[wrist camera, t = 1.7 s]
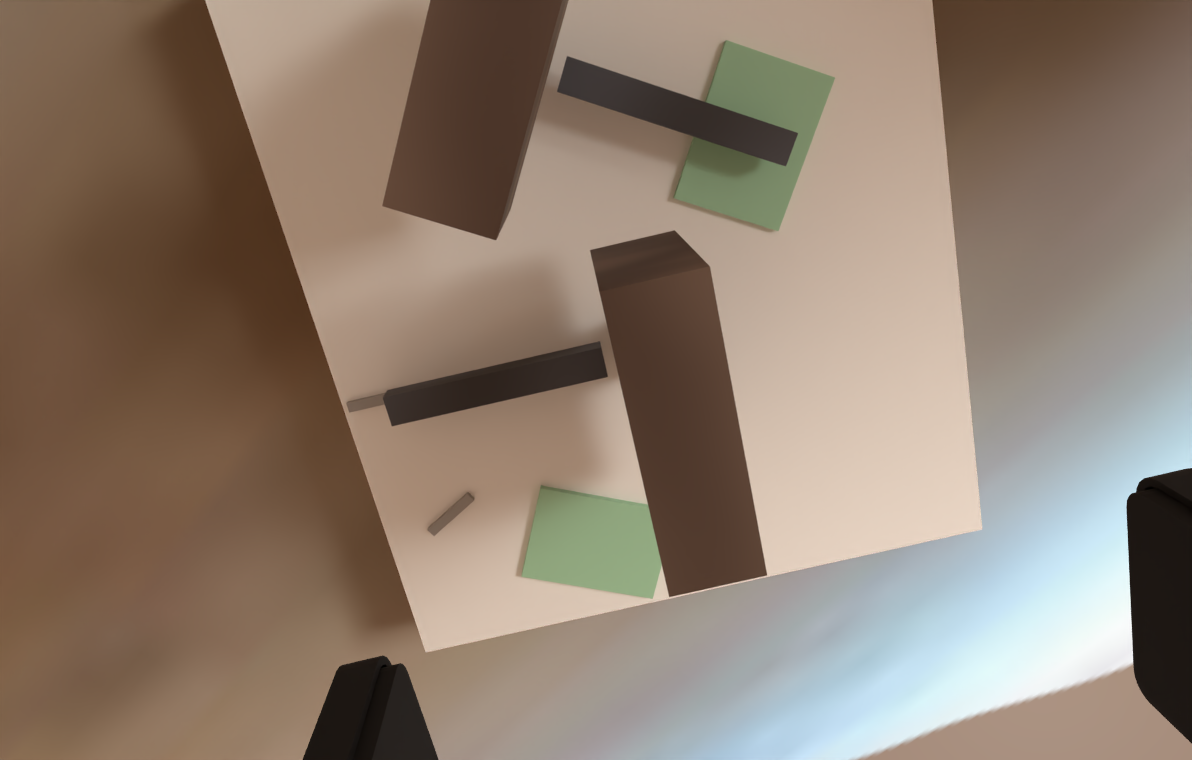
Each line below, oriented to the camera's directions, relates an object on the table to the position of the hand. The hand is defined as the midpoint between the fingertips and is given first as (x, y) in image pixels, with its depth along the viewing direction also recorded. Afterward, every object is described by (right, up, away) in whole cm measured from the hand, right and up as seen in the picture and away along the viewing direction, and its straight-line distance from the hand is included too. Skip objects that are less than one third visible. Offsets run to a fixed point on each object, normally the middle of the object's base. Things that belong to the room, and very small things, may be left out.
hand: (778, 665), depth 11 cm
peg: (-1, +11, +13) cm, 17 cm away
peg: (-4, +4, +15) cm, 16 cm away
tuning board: (-1, +8, +17) cm, 19 cm away
